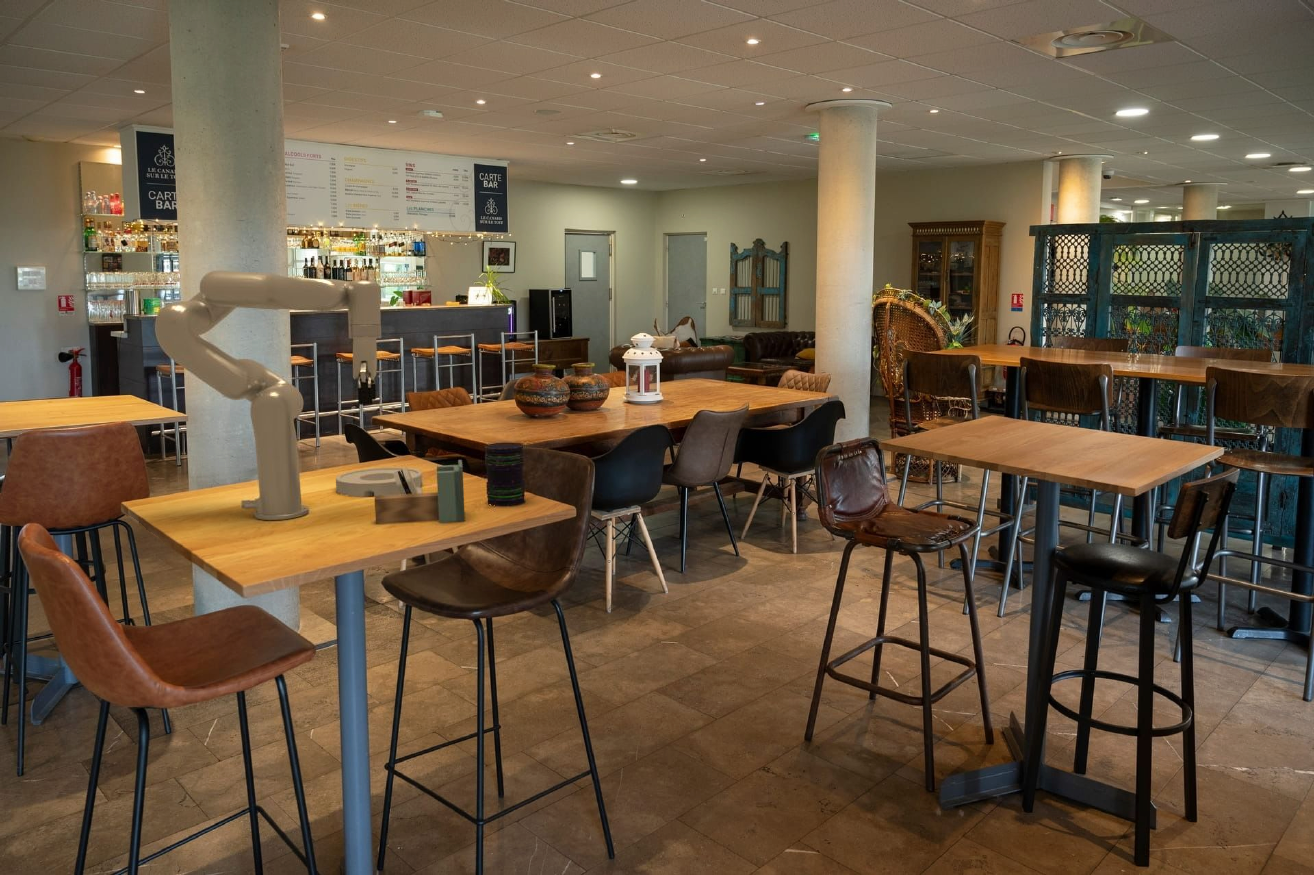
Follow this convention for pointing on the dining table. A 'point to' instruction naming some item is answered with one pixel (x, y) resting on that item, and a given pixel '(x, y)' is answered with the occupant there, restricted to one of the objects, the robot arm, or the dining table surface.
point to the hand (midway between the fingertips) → (367, 402)
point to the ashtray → (373, 482)
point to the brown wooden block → (406, 508)
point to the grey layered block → (406, 482)
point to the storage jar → (505, 474)
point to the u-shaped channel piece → (450, 493)
